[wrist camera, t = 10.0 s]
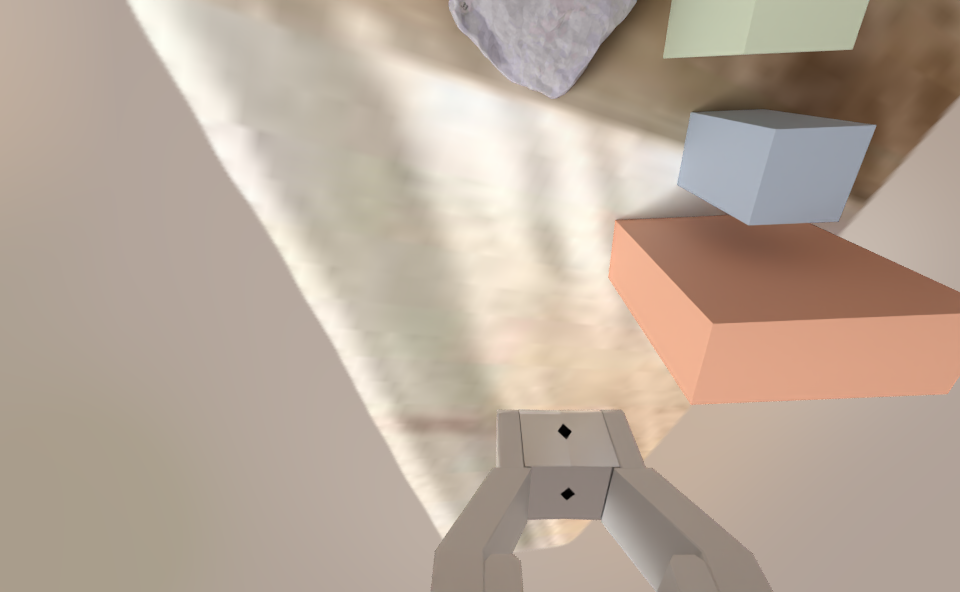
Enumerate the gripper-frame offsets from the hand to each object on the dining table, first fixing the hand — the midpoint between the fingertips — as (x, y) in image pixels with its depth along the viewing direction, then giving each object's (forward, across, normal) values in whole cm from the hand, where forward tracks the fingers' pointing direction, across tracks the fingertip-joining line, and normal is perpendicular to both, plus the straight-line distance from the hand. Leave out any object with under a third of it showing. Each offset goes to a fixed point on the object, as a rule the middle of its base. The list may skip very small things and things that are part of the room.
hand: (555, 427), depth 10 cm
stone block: (+31, -2, -11) cm, 33 cm away
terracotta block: (+30, -19, +8) cm, 36 cm away
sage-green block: (+31, -15, -10) cm, 36 cm away
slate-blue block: (+30, -18, -1) cm, 36 cm away
